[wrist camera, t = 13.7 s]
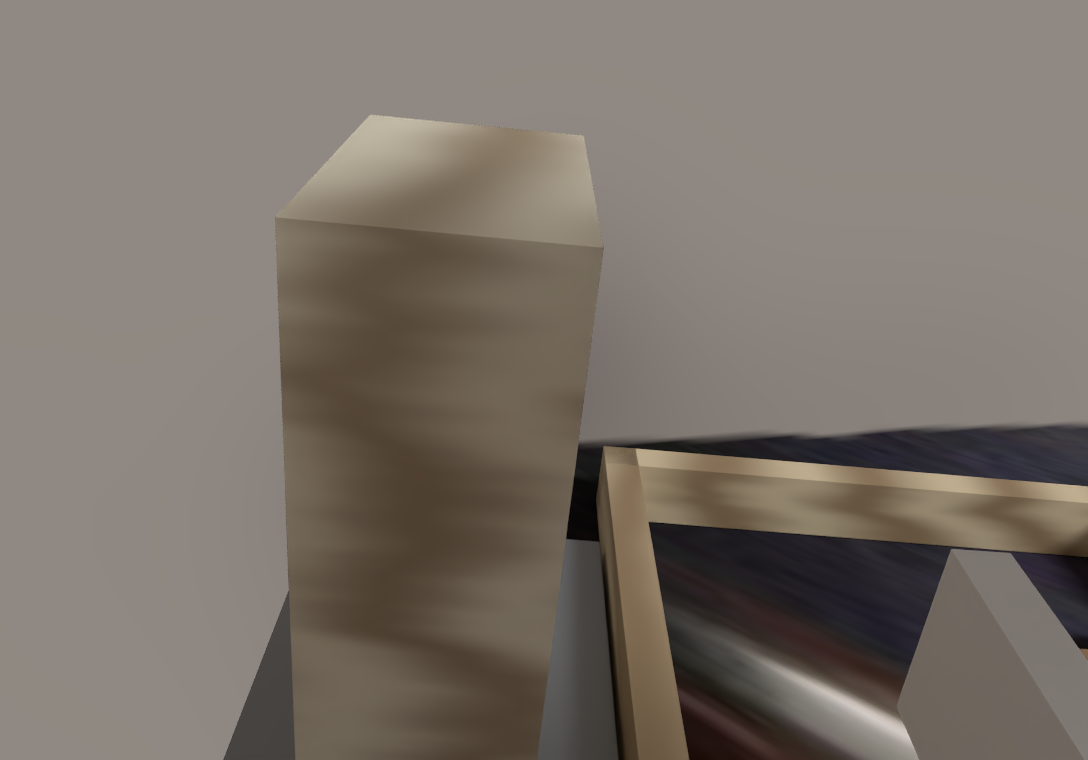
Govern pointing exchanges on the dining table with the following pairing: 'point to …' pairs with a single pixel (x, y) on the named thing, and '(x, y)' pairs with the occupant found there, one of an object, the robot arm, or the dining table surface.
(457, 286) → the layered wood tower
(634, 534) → the wooden frame
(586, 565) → the slate board
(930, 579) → the dining table surface
